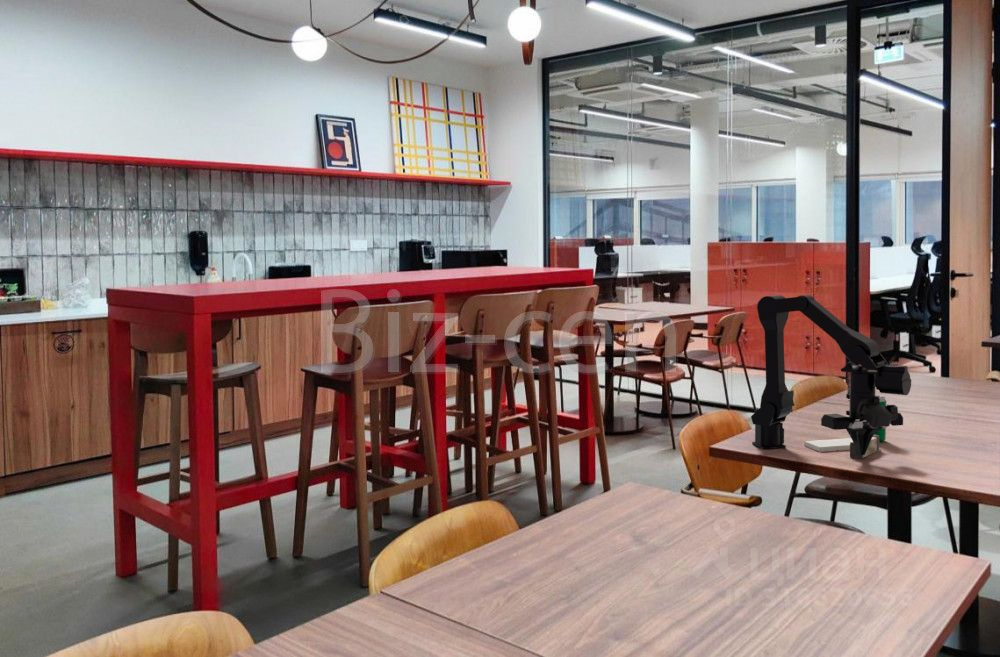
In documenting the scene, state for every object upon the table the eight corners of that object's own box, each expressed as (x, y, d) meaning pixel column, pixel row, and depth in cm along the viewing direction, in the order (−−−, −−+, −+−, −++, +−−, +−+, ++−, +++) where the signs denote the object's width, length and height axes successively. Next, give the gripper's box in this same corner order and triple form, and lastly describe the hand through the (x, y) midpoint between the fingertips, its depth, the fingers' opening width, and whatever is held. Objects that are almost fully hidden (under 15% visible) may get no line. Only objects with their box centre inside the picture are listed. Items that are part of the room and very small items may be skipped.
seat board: (827, 455, 207) (827, 450, 207) (804, 445, 218) (804, 441, 217) (884, 451, 210) (884, 446, 210) (858, 442, 221) (858, 437, 221)
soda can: (887, 443, 219) (888, 398, 218) (867, 442, 220) (868, 398, 219) (882, 438, 224) (883, 395, 223) (862, 438, 225) (863, 394, 224)
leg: (869, 447, 214) (869, 433, 213) (880, 449, 212) (881, 435, 211) (849, 456, 204) (850, 442, 204) (861, 458, 202) (862, 444, 202)
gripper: (847, 398, 190) (847, 465, 191) (919, 394, 193) (918, 459, 195) (820, 391, 201) (819, 454, 202) (888, 387, 204) (887, 449, 206)
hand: (861, 454), depth 201 cm, fingers closed
